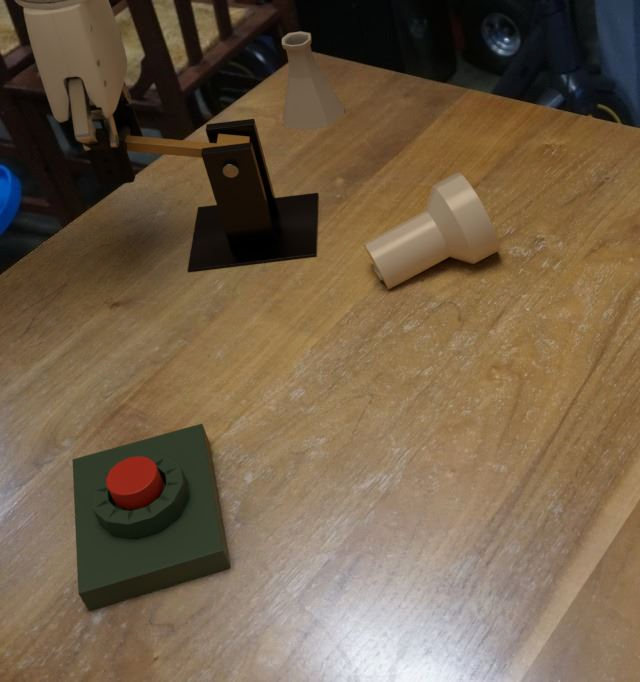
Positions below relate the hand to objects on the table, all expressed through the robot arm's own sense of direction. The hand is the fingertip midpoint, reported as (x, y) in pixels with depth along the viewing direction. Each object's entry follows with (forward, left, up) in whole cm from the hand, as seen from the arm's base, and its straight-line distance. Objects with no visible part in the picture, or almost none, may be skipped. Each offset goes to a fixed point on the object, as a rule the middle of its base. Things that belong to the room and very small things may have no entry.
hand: (121, 162), depth 99 cm
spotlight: (+22, +18, -11) cm, 30 cm away
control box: (+30, -16, -10) cm, 35 cm away
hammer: (+3, +4, 0) cm, 5 cm away
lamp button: (+30, -16, -7) cm, 34 cm away
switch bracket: (+6, +8, -10) cm, 14 cm away
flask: (-8, +24, -11) cm, 28 cm away
